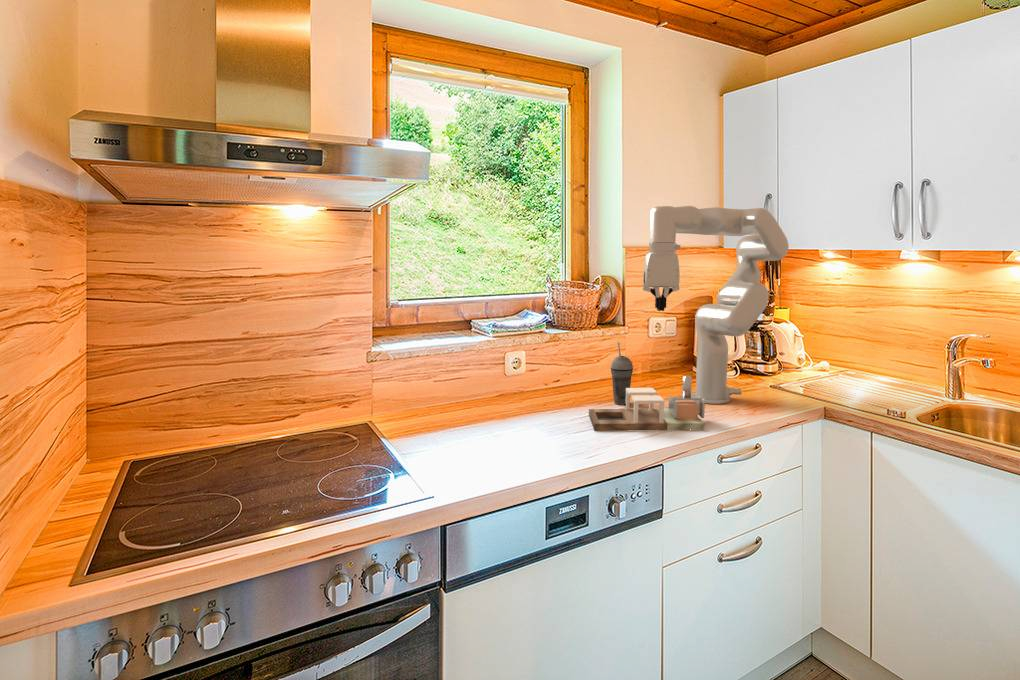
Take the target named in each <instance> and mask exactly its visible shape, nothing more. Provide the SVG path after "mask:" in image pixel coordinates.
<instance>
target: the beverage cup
mask: <svg viewBox="0 0 1020 680" xmlns="http://www.w3.org/2000/svg"><path fill="white" fill-rule="evenodd" d="M620 345H621V344H620V342H619V341H618V342H617V346H618V356H617V357H615V358H614V359H613V360H612V362H611V364H610V372H611V377H612V379H611V380H612V391H613V393H612V394H613V401H614V402H613V404H615V405H617V404H619V406H625V405H624V404H626V388H631V385H632V384H631V382H632V375H633V371H634V367H633V365H634V364H633V362H632V360H631V359H630V358H629V357H627V356H626V355H625V356H624V355H621V354H622V353H621V346H620Z"/></svg>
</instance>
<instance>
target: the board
mask: <svg viewBox="0 0 1020 680" xmlns="http://www.w3.org/2000/svg"><path fill="white" fill-rule="evenodd" d="M588 417H589V419H590V423H591V426H592V429H593V430H594V431H598V432H599V431H600V432H601V431H602V432H603V431H604V432H606V431H607V432H609V431H610V432H613V431H616V432H617V431H619V432H621V431H622V432H623V431H627V432H628V430H659V431H705V422H703V420H701V418H699V417H698V418H697V419H676V418H674V417H673V416H672V415H671V414H670V412H669V408H664V423H659V408H653V410H649V408H638V423H634V408H630V410H626V408H588ZM690 429H691V430H690Z"/></svg>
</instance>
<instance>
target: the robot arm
mask: <svg viewBox="0 0 1020 680" xmlns="http://www.w3.org/2000/svg"><path fill="white" fill-rule="evenodd" d="M649 212H650V213H649V237H648V238H649V243H648V245H649V247H648V250H649V251H648V253H646V254H645V258H644V265H643V274H642V284H643V286H642V290H643V291H644V292H649V293H651V295H652V296H653V297H654V298H655V299H654V302H655V303H654V308H655V309H656V311H658V312H664V311H665V309H666V308H667V298H668V297H669V295H670V294H672V293H673V292H678V291H680V290H681V289H680V282H681V281H680V276H681V275H680V264H679V263H680V261H679V255H678V253H676V251H677V250H680V249H681V244H677V242H676V241H677V240H676V238H677V236H676V234H689V235H690V234H691V235H700V236H701V235H702V236H703V235H704V236H729V237H742V238H740V240H738V242H737V244H736V248H735V253H736V263H737V264H736V269H735V271H734V272H733V273H732V275H730V277H729V278H728V280H727V281H726V282H725V283H724V285H723V286H722V287H721V288H720V290H719V291H718V293H717V295H716V296H717V297H716V302H717V303H706V304H704V305H703V304H702V306H700V307H699V308H698V309H697V311H696V312H695V315H694V323H695V329H696V339H697V343H696V344H697V345H696V369H695V370H696V372H695V373H696V374H695V375H696V377H695V392H691V397H695V396H698V397H701V398H702V401H703V402H705V404H710V405H721V404H727V403H730V402H731V401H732V397H731V396H732V395H736V396H737V395H742V393H743V391H742V389H741V388H735V387H729V386H728V385H727V382H728V381H727V380H728V379H727V378H728V361H729V358H728V357H729V345H728V341H727V337H726V336H728V337H741V336H744V334H746V333H747V332H748V331H749V330H750V329H751V328H752V326H753V325H754V324H755V322H756V321H758V319H759V317H760V316H761V315H762V313H763V312H764V311H765V310H766V308H767V305H768V303H769V297H770V294H769V290H768V288H767V286H765V285H764V284H763V283H760V282H761V279H762V272H761V270H760V268H759V265H758V262H763V261H764V262H773V261H774V262H776V261H781V260H782V259H784V258H785V257H786V256H787V254H788V253H789V240H788V239H787V236H786V235H785V233H784V231H783V229H782V228H781V226H780V224H779V223H778V221H777V219H776V218H775V217H774V216H773V215H772V213H771V212H770V211H769V210H767V209H766V208H765V207H758V208H757V207H756V208H746V209H743V208H742V209H740V208H739V209H738V208H725V207H717V206H716V207H705V208H704V207H703V208H698V207H696V206H692V205H684V206H671V205H665V206H664V205H661V206H654V207H652V208H651V209H650V211H649ZM660 288H662V292H661V293H660ZM694 401H695V400H694Z"/></svg>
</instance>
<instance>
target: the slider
mask: <svg viewBox="0 0 1020 680" xmlns="http://www.w3.org/2000/svg"><path fill="white" fill-rule="evenodd" d="M692 379H693V377H692V376H691V375H683V376H682V392H681V395H682V396H668V409H669V412H670V414H671V415H672V416H673V417H674V418H677V402H676V401H675V400H695V402H696V403H697V404H698V417H700V419H705V407H706V403H705V402H703V401H702V398H701V397H698V396H695V397H691V394H692V384H693V383H692Z"/></svg>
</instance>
